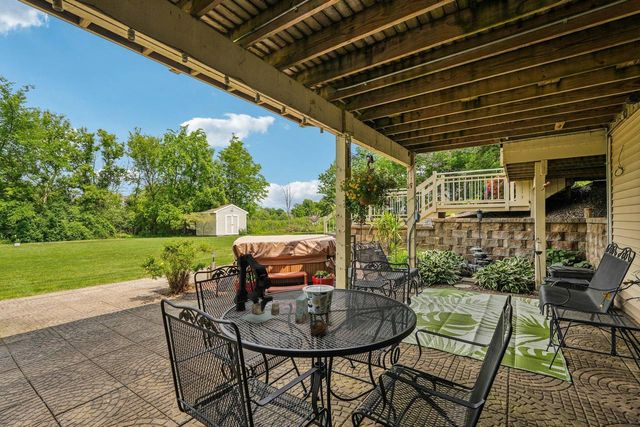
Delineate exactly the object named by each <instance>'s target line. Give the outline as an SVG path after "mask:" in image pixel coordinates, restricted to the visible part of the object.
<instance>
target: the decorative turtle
mask: <svg viewBox="0 0 640 427" xmlns="http://www.w3.org/2000/svg"><path fill="white" fill-rule="evenodd" d="M327 327H328V326H327V323H326V322H325V321H323V319H318V318H317V319H314V320H312V321H311V322H310V324H309V329H310V331H311V332H312V333H311V334H312V335H313V336H314V337H315V336H317V335H318V334H320V335H321V336H324V335H325V333H326V330H327Z"/></svg>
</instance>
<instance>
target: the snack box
mask: <svg viewBox="0 0 640 427" xmlns="http://www.w3.org/2000/svg"><path fill="white" fill-rule="evenodd" d="M309 315H310V314H309V312H308V298H307V296H306V295H304V292H303V293H301V294H300V296H299V297H297V298H296V300H295V318H294V319H295V320H294V323H295V324H303V323H304V322H305V321H306V320H307V318H309Z"/></svg>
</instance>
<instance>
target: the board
mask: <svg viewBox="0 0 640 427" xmlns="http://www.w3.org/2000/svg"><path fill="white" fill-rule="evenodd" d="M280 315H282V313H279V315H276V316H274V315H271V310H266V309H265V313H264V314H261V315H255V314H252V312H251V313H249V314H245V315H242V316H239V317H238V318H239V319H241V320H245V321H247V322H252V323H254V324H260V323H263V322H265V321H268V320H271V319H273V318H275V317H278V316H280Z"/></svg>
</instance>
